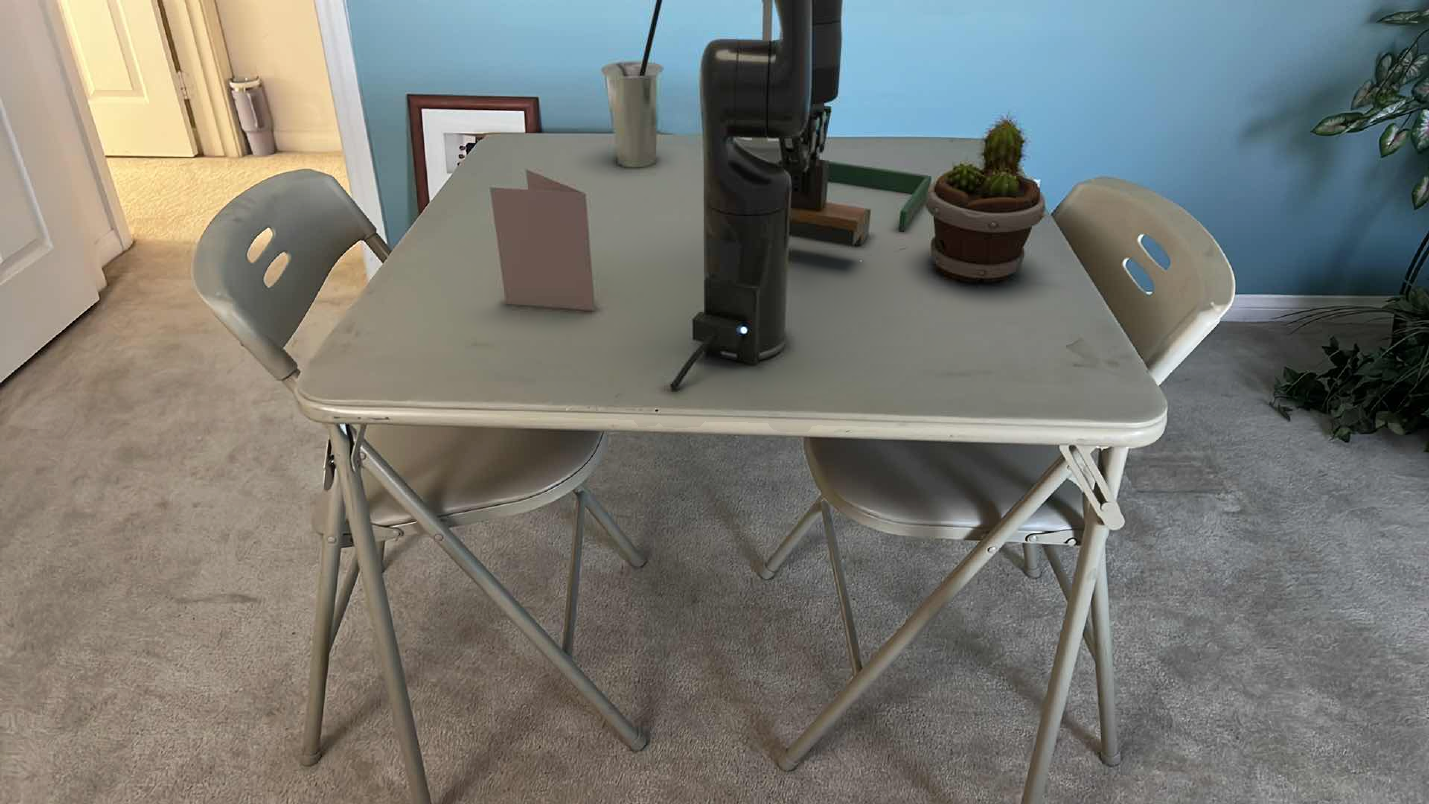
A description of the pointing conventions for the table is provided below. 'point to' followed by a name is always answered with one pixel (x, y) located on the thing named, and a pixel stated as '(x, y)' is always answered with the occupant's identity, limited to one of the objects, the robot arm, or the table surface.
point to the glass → (635, 104)
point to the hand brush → (824, 211)
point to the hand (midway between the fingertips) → (802, 193)
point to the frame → (885, 184)
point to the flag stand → (764, 146)
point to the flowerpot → (985, 211)
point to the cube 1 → (864, 230)
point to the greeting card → (544, 244)
